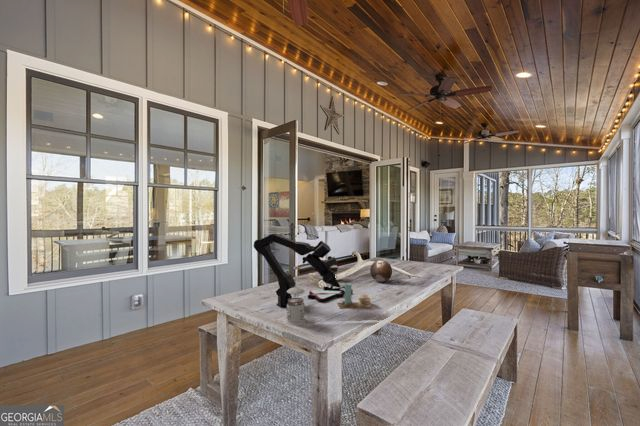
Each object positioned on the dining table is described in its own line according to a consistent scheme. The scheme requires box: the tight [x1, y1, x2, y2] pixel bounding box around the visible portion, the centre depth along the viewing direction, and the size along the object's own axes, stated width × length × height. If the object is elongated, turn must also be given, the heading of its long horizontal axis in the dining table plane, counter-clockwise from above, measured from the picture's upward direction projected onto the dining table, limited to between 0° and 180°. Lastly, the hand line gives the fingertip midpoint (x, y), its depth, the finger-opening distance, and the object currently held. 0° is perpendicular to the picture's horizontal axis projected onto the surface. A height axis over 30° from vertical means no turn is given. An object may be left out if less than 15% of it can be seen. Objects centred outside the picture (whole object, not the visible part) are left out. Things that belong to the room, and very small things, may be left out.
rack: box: [336, 294, 372, 310], centre depth 158 cm, size 16×10×6 cm, turn 95°
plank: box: [344, 283, 352, 304], centre depth 157 cm, size 3×2×11 cm
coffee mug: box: [331, 265, 339, 274], centre depth 217 cm, size 12×9×10 cm
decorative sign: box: [307, 284, 354, 304], centre depth 177 cm, size 18×4×30 cm
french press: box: [284, 266, 307, 326], centre depth 139 cm, size 10×12×25 cm
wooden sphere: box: [369, 259, 393, 283], centre depth 213 cm, size 15×15×15 cm
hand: (338, 284), depth 157 cm, fingers open, 9 cm apart
